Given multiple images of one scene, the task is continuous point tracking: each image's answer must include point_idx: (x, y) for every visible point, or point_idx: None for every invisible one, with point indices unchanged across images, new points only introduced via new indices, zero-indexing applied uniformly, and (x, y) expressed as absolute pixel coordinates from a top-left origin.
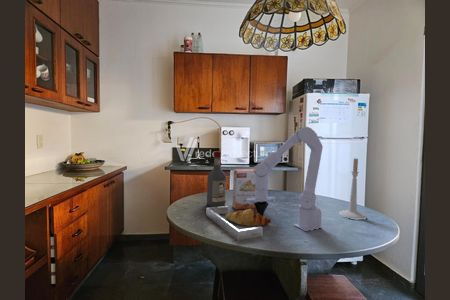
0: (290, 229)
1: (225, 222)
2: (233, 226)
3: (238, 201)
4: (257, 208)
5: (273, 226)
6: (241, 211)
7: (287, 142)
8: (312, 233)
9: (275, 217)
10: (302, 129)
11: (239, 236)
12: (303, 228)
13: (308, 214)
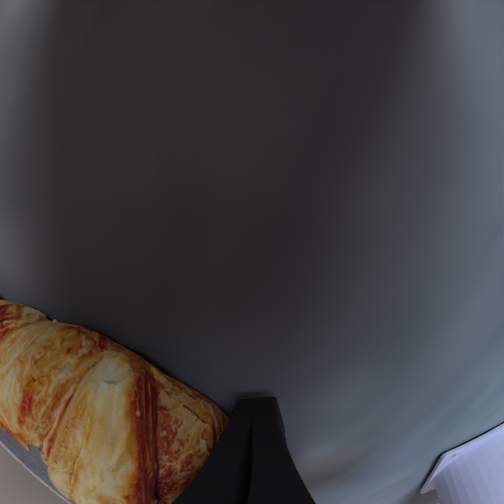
0: (378, 487)
1: (8, 449)
2: (56, 492)
3: None
4: (207, 500)
5: (310, 473)
6: (22, 443)
7: None
8: (425, 493)
9: (480, 309)
10: None
11: None
12: (431, 485)
13: None
